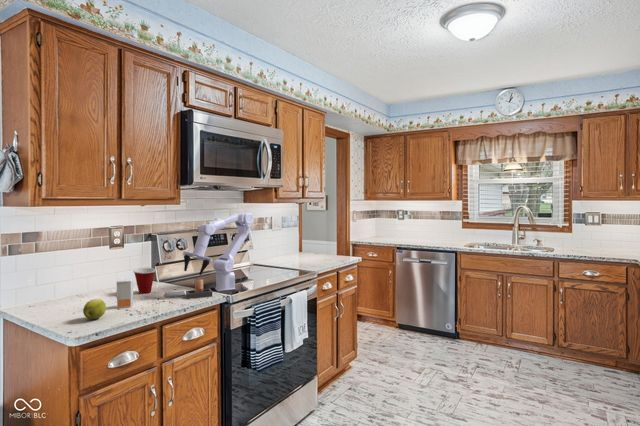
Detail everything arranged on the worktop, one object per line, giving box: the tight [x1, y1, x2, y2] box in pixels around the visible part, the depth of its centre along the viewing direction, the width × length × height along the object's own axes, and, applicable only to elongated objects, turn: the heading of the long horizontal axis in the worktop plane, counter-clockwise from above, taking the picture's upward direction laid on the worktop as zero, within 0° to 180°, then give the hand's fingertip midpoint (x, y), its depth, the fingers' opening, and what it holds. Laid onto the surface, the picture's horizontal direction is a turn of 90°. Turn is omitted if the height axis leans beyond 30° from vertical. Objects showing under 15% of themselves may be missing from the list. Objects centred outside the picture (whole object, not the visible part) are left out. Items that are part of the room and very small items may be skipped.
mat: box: [164, 290, 187, 299], centre depth 206 cm, size 9×9×1 cm
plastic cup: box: [133, 267, 157, 295], centre depth 211 cm, size 11×11×12 cm
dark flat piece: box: [185, 288, 213, 300], centre depth 204 cm, size 12×9×3 cm
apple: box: [82, 298, 107, 320], centre depth 167 cm, size 8×9×8 cm
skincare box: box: [116, 278, 134, 309], centre depth 185 cm, size 6×4×12 cm
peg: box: [194, 279, 204, 293], centre depth 203 cm, size 4×4×8 cm
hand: (192, 272), depth 203 cm, fingers open, 7 cm apart
